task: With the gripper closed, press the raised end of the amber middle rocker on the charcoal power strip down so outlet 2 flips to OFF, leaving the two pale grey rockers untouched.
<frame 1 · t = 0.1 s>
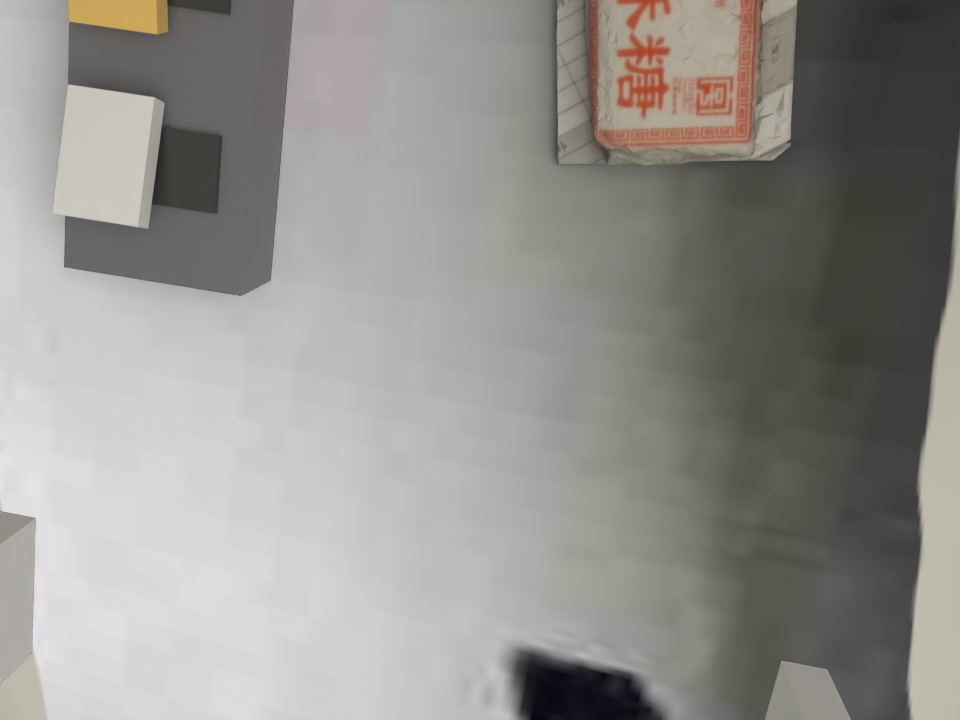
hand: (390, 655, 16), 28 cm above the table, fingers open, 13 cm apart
rocker 3: (108, 157, 37), point 5 cm above the table, hinge at -11.0°
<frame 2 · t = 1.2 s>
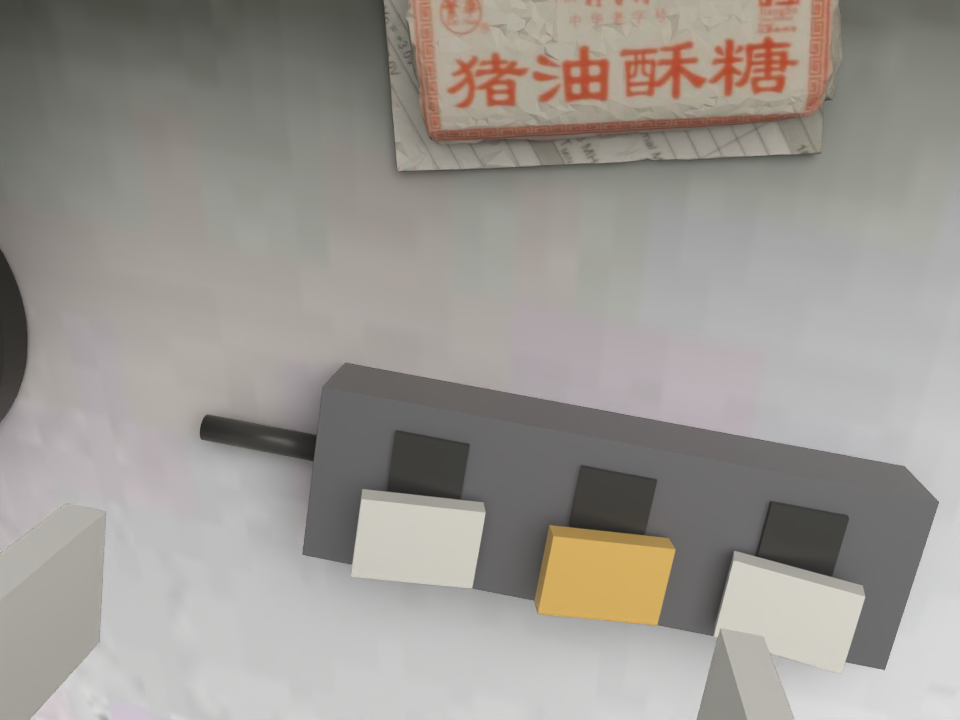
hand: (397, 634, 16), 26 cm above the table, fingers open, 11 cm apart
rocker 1: (417, 539, 39), point 5 cm above the table, hinge at 11.0°
power strip: (603, 493, 43), on the table
rocker 3: (786, 611, 38), point 5 cm above the table, hinge at -11.0°
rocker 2: (603, 575, 38), point 5 cm above the table, hinge at 11.0°
packaged product: (601, 42, 39), on the table
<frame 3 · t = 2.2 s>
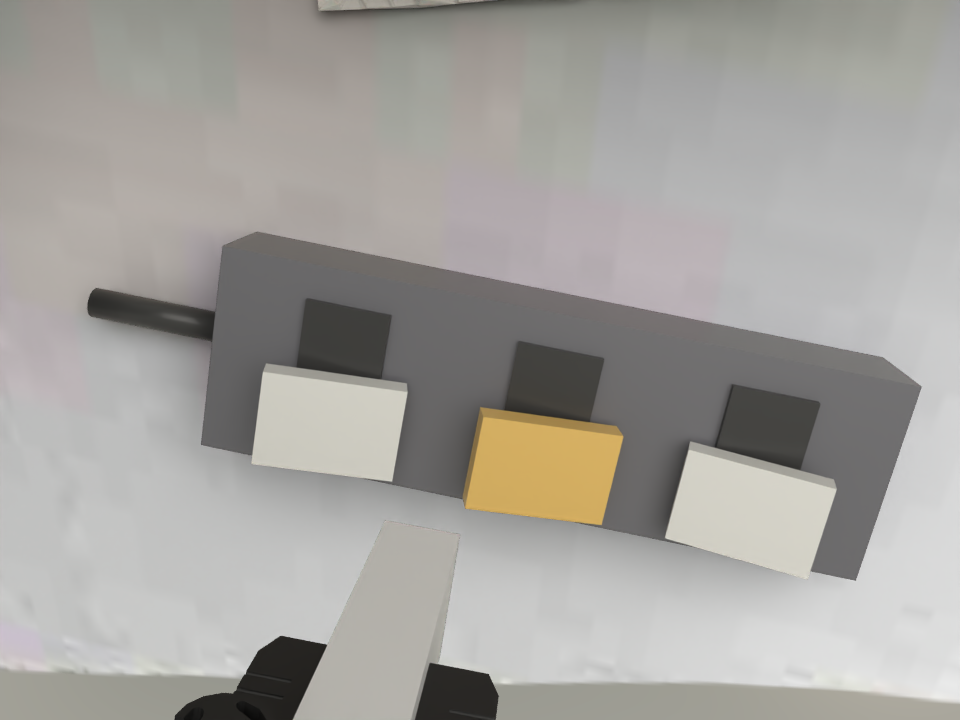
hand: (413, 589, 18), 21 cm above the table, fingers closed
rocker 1: (329, 423, 34), point 5 cm above the table, hinge at 11.0°
power strip: (547, 385, 38), on the table
rocker 3: (747, 509, 33), point 5 cm above the table, hinge at -11.0°
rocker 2: (541, 466, 33), point 5 cm above the table, hinge at 11.0°
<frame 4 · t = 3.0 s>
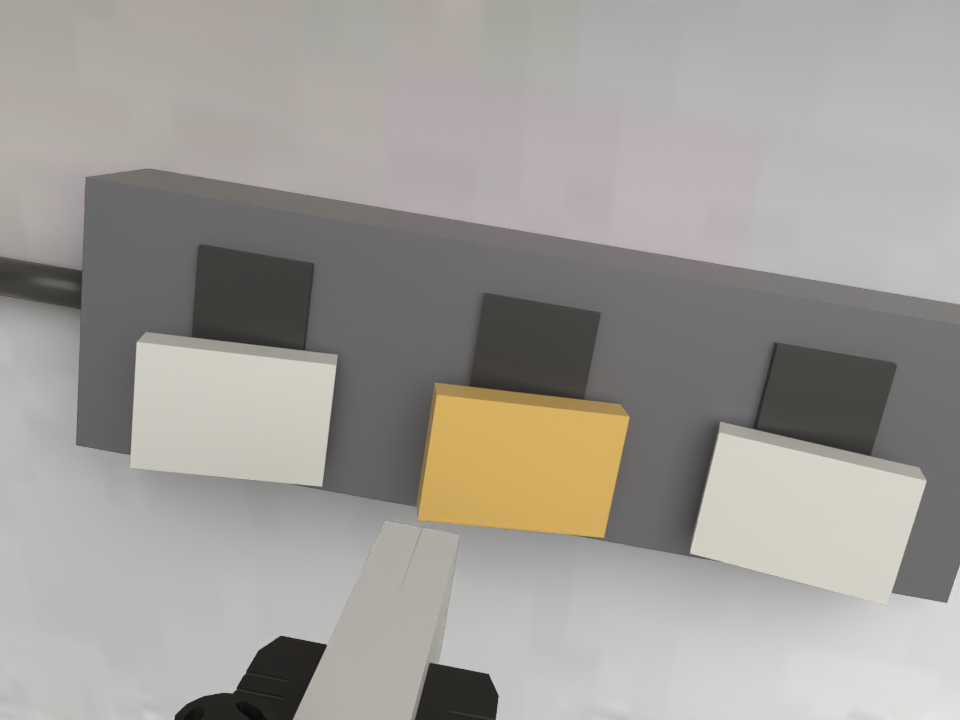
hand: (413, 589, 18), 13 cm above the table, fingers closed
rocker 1: (235, 410, 25), point 5 cm above the table, hinge at 11.0°
power strip: (530, 357, 29), on the table
rocker 3: (801, 511, 24), point 5 cm above the table, hinge at -11.0°
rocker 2: (520, 461, 25), point 5 cm above the table, hinge at 11.0°
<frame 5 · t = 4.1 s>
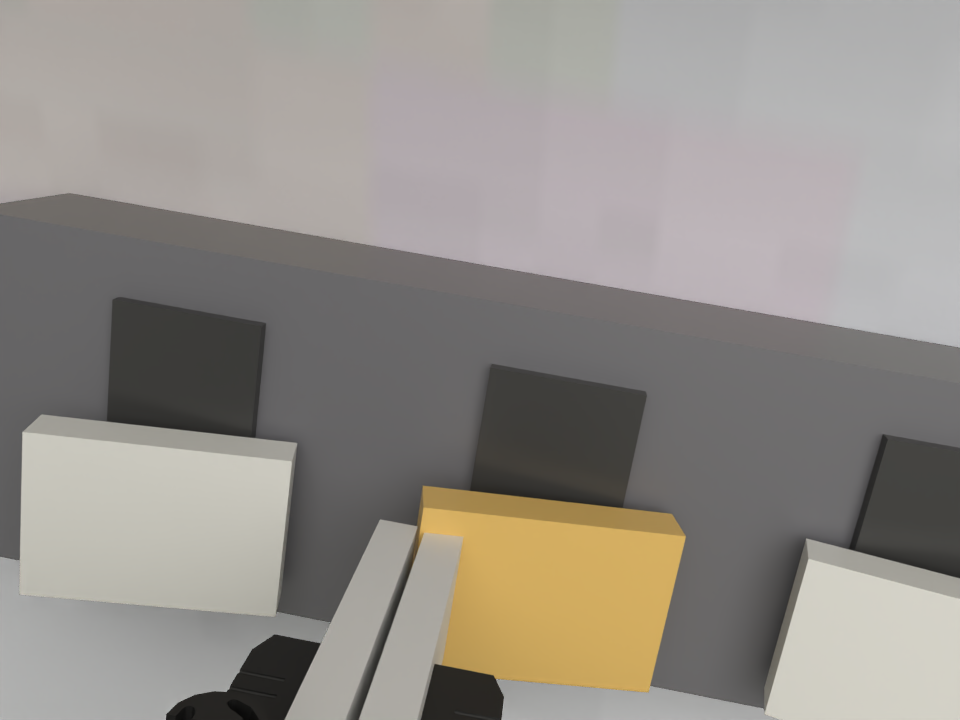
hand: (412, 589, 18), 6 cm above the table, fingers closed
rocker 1: (160, 517, 19), point 5 cm above the table, hinge at 11.0°
power strip: (550, 434, 23), on the table
rocker 3: (919, 664, 18), point 5 cm above the table, hinge at -11.0°
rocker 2: (537, 590, 19), point 5 cm above the table, hinge at 10.2°, touching gripper
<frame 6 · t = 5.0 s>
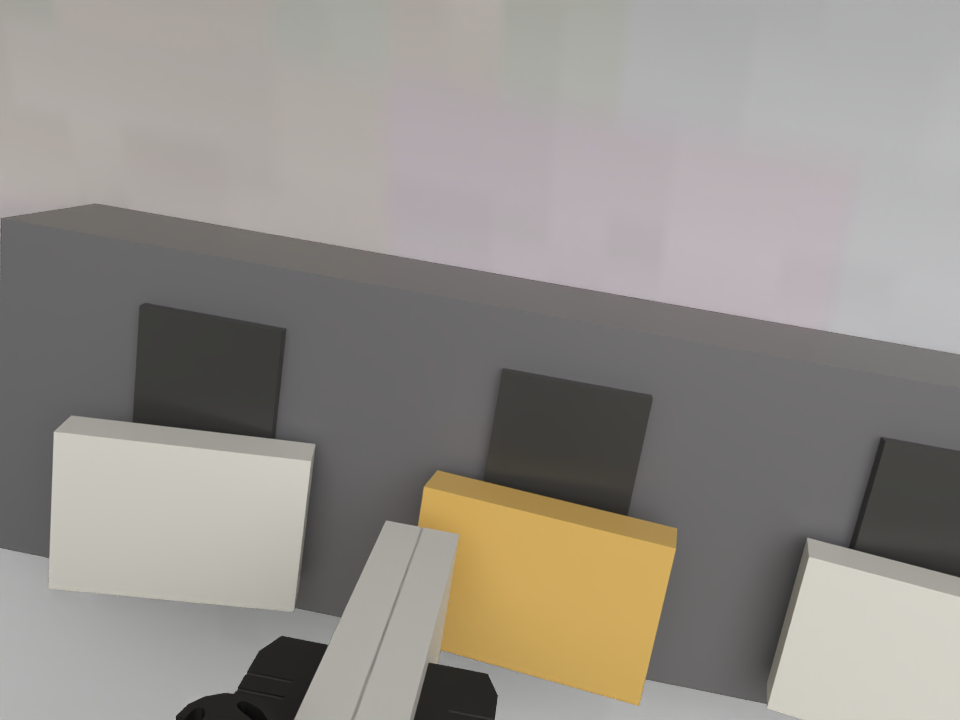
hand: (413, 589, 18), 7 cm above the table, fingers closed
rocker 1: (184, 515, 20), point 5 cm above the table, hinge at 11.0°
power strip: (559, 437, 24), on the table
rocker 3: (916, 660, 19), point 5 cm above the table, hinge at -11.0°
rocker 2: (535, 585, 19), point 5 cm above the table, hinge at -7.2°
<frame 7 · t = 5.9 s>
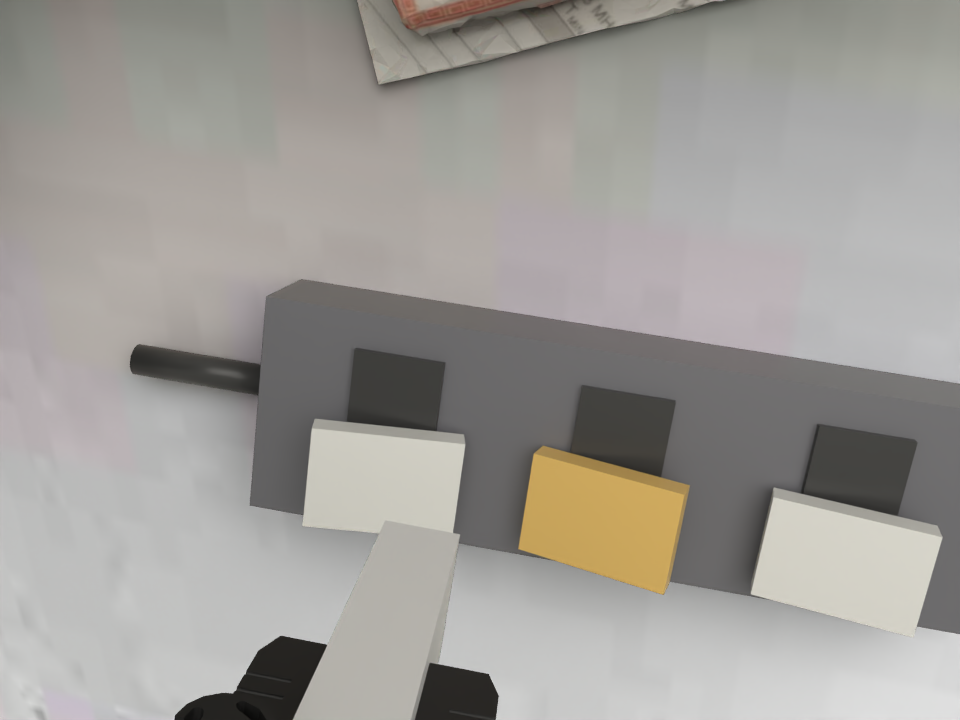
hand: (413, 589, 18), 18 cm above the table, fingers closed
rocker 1: (383, 479, 32), point 5 cm above the table, hinge at 11.0°
power strip: (612, 429, 36), on the table
rocker 3: (841, 560, 30), point 5 cm above the table, hinge at -11.0°
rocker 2: (601, 518, 31), point 5 cm above the table, hinge at -16.1°
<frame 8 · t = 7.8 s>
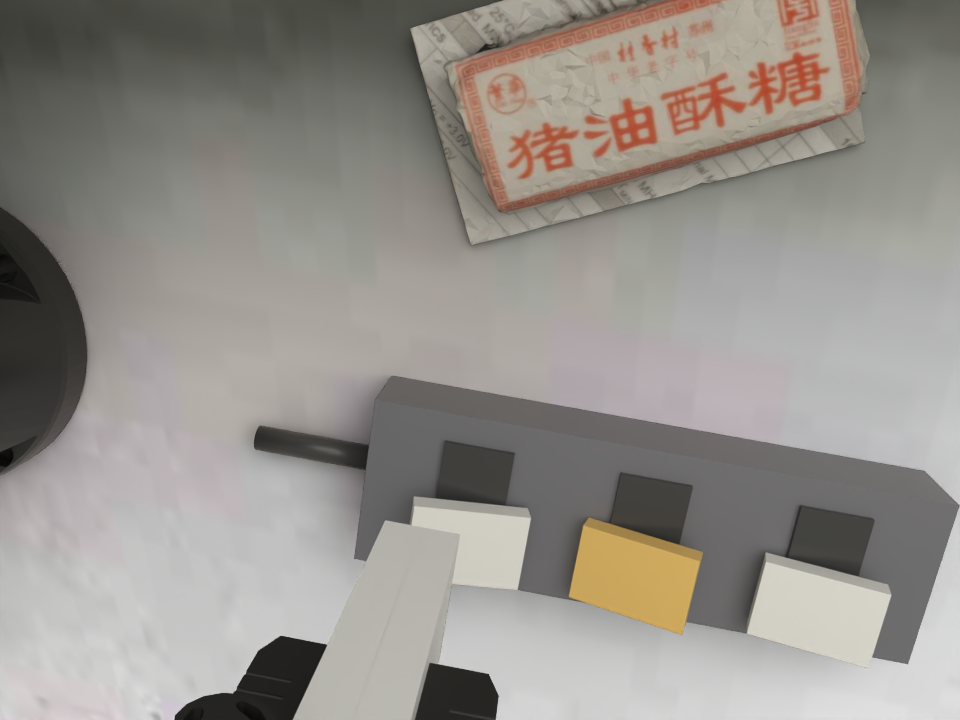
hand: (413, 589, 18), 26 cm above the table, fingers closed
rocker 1: (466, 543, 41), point 5 cm above the table, hinge at 11.0°
power strip: (637, 497, 45), on the table
rocker 3: (816, 609, 40), point 5 cm above the table, hinge at -11.0°
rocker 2: (634, 575, 40), point 5 cm above the table, hinge at -15.9°
packaged product: (634, 86, 41), on the table
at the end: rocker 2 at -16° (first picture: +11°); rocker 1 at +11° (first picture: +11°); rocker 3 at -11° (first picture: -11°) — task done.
